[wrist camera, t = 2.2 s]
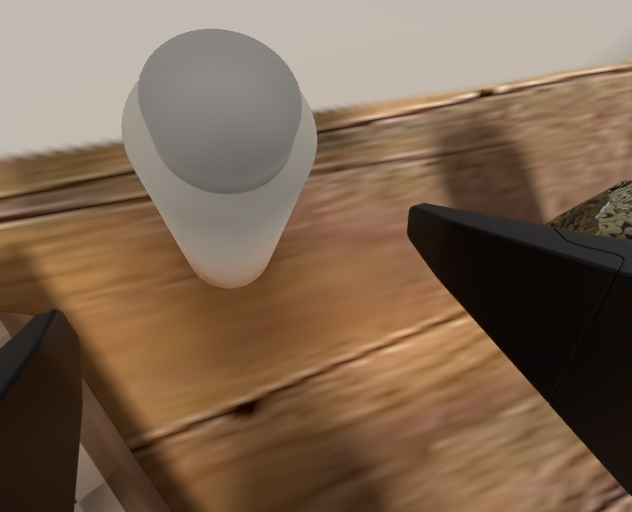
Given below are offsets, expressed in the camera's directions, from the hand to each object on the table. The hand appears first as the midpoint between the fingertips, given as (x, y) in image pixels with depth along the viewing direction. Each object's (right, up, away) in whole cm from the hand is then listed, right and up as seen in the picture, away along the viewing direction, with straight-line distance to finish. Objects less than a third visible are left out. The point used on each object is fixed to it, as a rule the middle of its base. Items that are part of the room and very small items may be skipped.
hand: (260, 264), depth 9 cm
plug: (-3, +1, +10) cm, 10 cm away
